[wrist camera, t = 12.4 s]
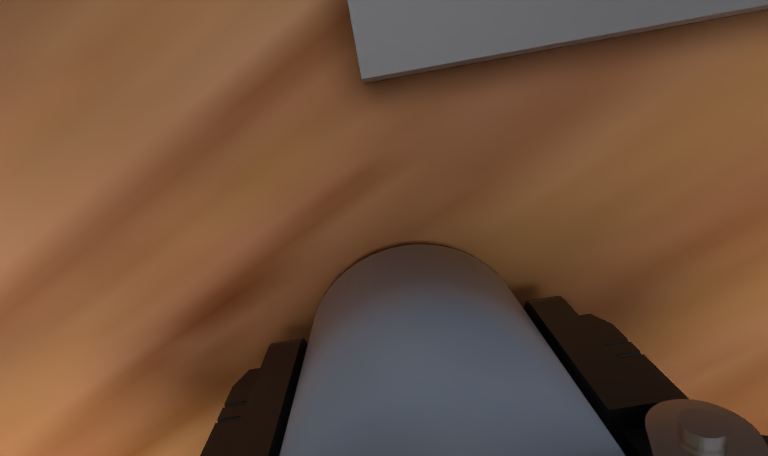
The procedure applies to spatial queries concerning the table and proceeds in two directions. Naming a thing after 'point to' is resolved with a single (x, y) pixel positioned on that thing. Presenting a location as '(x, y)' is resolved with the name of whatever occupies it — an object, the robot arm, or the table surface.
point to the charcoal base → (505, 28)
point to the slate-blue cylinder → (434, 368)
